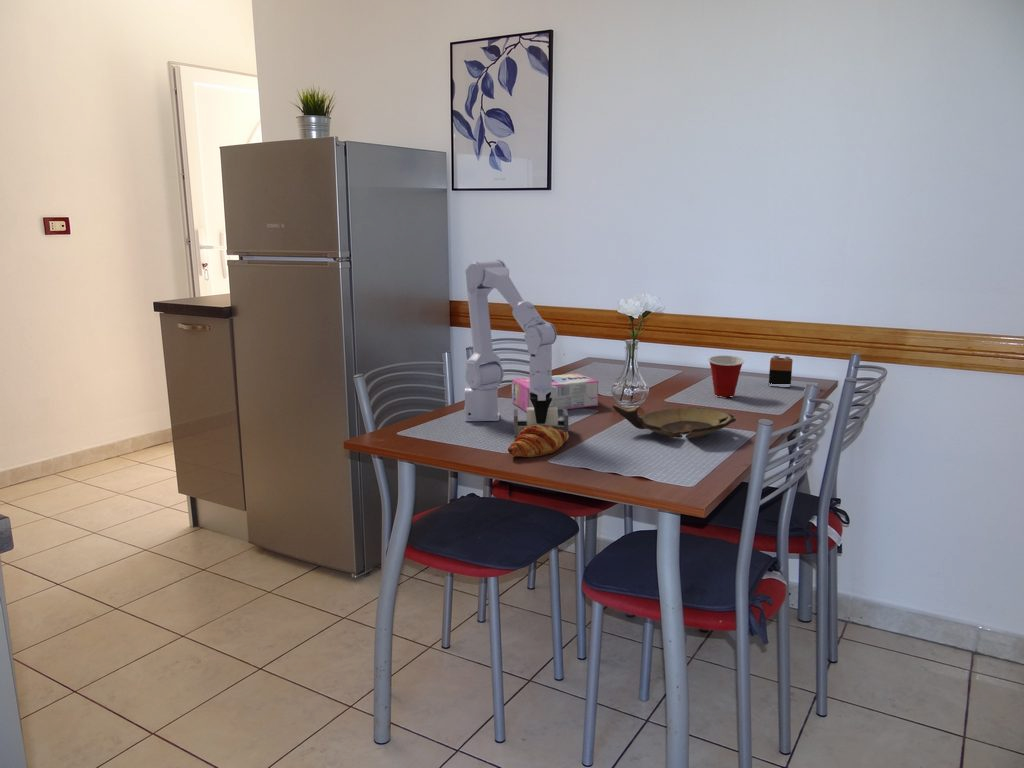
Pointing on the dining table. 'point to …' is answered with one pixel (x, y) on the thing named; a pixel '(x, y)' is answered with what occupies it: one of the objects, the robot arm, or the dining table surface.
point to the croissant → (537, 441)
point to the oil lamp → (678, 420)
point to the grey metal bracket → (561, 425)
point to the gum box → (560, 392)
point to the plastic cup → (725, 374)
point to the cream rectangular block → (550, 419)
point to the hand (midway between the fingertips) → (540, 421)
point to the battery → (780, 370)
